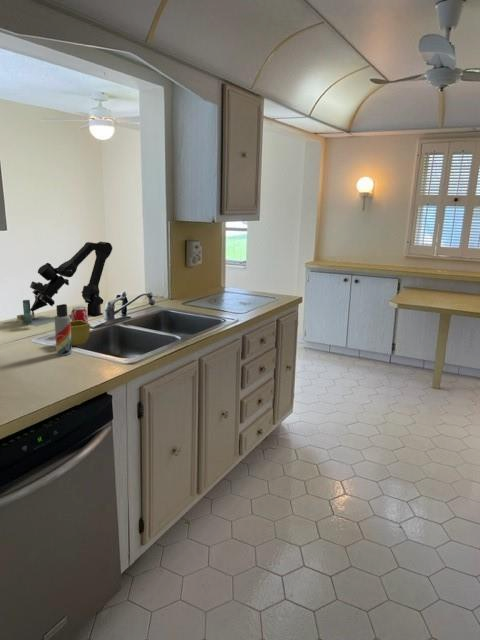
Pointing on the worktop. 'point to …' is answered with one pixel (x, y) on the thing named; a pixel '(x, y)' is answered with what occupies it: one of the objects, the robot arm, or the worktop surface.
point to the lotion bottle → (63, 331)
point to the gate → (27, 312)
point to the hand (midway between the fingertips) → (31, 310)
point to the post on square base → (34, 317)
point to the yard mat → (40, 321)
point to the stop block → (20, 318)
